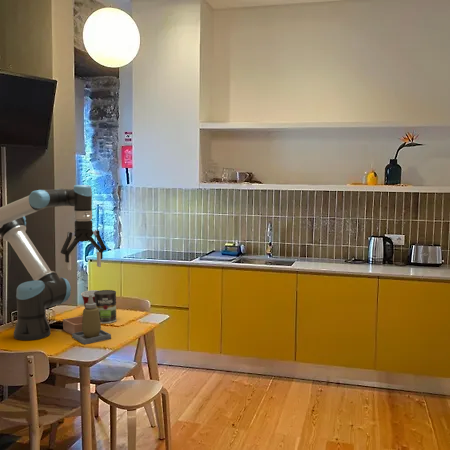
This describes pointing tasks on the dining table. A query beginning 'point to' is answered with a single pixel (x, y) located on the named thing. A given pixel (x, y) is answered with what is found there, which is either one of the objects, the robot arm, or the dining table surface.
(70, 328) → the box
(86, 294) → the plastic cup
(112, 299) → the coffee can
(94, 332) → the squeeze bottle
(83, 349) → the dining table surface
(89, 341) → the tray
